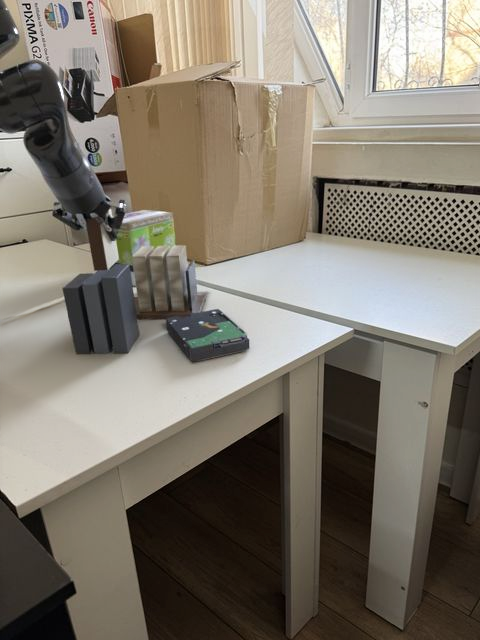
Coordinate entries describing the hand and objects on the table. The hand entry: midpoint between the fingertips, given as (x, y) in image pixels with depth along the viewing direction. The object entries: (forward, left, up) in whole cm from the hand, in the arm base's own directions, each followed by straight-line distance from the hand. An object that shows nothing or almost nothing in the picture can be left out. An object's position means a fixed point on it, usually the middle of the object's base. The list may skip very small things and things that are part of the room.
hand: (106, 237), depth 99 cm
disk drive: (+27, -6, -15) cm, 31 cm away
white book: (+1, -2, -5) cm, 5 cm away
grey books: (+12, -15, -14) cm, 24 cm away
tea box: (-10, +19, -15) cm, 26 cm away
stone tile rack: (+7, +2, -14) cm, 16 cm away
